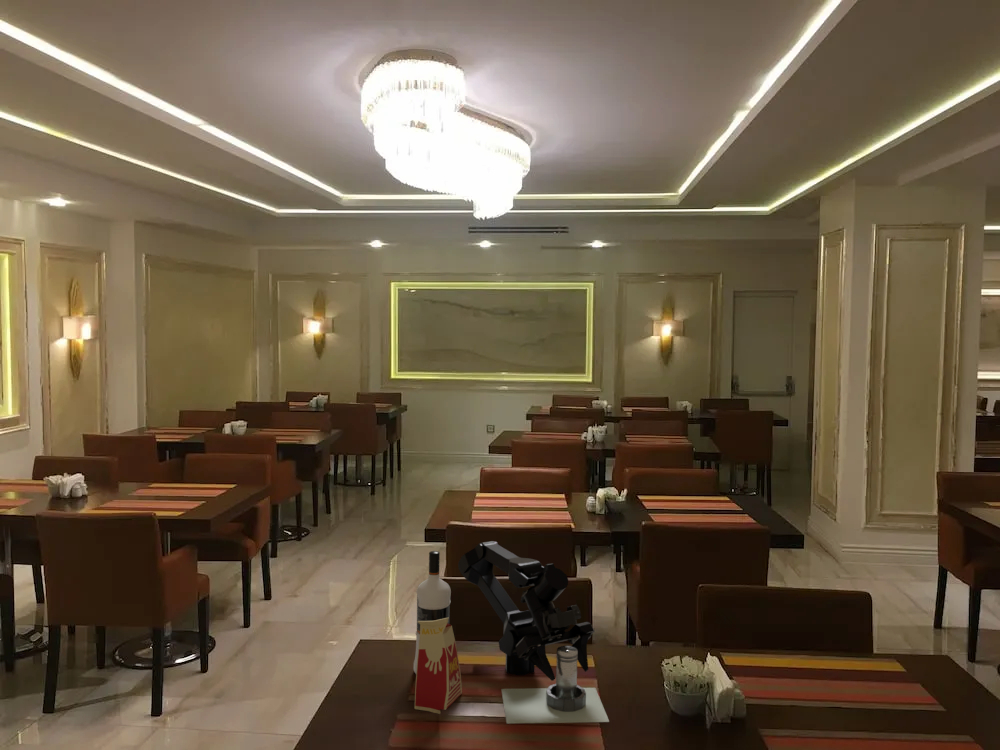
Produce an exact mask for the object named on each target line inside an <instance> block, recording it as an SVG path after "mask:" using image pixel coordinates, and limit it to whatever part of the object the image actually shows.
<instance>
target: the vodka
mask: <svg viewBox="0 0 1000 750" xmlns="http://www.w3.org/2000/svg"><path fill="white" fill-rule="evenodd" d="M440 555H441V553H440V551H439V550H438V551H437V550H432V551H429V553H428V578H426V579H425V580H423V581H421V583H419V584H418V586H417V587H416V591H415V593H416V631H415V636H416V637H415V638H416V639H415V640H416V643H415V654H414V660H413V664H412V665H413V671H414V673H415V674H416V672H417V659H418V649H419V640H420V624H419V623H418V622H417V621H434V620H439V619H444V618H448V617H449V619H448V624H450V613H451V612H450V607H451V606H450V605H451V593H452V591H451V586H450V585H449V583H447V582H446V581H444V580H443V579H441V578H440V560H441V559H440Z"/></svg>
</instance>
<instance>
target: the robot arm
mask: <svg viewBox="0 0 1000 750" xmlns="http://www.w3.org/2000/svg"><path fill="white" fill-rule="evenodd" d="M457 566H458V567H457V568H458V571H459V573H461V575H462V576H463V578H464V579H466V581H467V582H469V583H471V584H473V585H475V586H477V587H478V588H479V589H480V591H481V592H482V594H483V595H484V597H485V598H486V600H487V601H488V603H489V604H490V605H491V607H492V609H493V610H494V612H495V613H496V614H497V616H498V618H499V619H500V621H501V622H502V624H503V635H502V637H500V639H499V640H498V647H499V650H500V652H502V653H504V654H505V671H506V674H511V675H515V676H525V675H528V674H533V673H535V670H536V669H535V667H536V668H537V669H538V670H540V671H541V672H542V673H543V675H545V676H546V677H547V678H548V679H549V680H550V681H555V680H556V675H555V674H554V670H553V668H552V665H551V663H550V661H549V659H548V656H547V653H546V646H549V645H550V646H551V645H553V644H559V643H562V642H566V641H568V643H570V644H571V646H572V647H575V648H576V649H577V650H578V659H577V663H579V665H580V667H581V668H582V669H583V671H584V672H585V673H586V672H588V671H589V661H588V649H587V648H588V641H589V640H590V638H592V635H593V634H594V633H595V631H596V630H595V629H594V626H593V624H592V623H590V622H589V621H584V622H580V623H578V622H577V621H578V620H580V619H581V618H582V613H581V610H580V608H579V606H578V604H574V605H570V606H567V607H566V611H562V610H561V609H560V608H559V607H555V605H554V602H553V601H556V600H557V598H558V597H559V596H560V595H561V594H562V593H563V592H564V590H565V589H566V588H568V585H569V578H568V575H567V574H566V573H565V572H564V571H562V569H560V568H558V567H556V566H555V564H554V563H547V564H545V565H544V566H543V564H542V563H541V562H540V561H539V560H537V559H533V558H530V557H529V558H528V557H527V558H526V557H520V556H518V555H516V554H515V553H513V552H511V551H509V550H508V549H506V548H504V547H502V546H501V545H499V544H498V542H497V541H494V540H491V541H489V540H488V541H484V542H480V543H478V544H477V545H476V546H475V547H474V548H472V549H471V550H469V551H467V552H466V553H464V554H462V555H461V557H460V559H459V560H458V563H457ZM494 566H495V567H496V568H498V569H500V570H501V571H503V572H504V573H506V574H507V575H508V577H507V578H508V581H510V583H512V585H513V586H515V588H517V589H522V588H527V587H529V588H528V589H527V590H523V591H522V595H521V597H520V603H521V604H524V603H525V604H526V606H527V608H528V609H527V610H524V611H520V610H519V608H518V607H517V605H516V603H514V601H513V599H512V598H511V597H510V596H509V593H507V591H506V589H505V588H504V587H503V585H502V584H501V583H500V581H499V580H498V579H497V577H496V576H495V574H494ZM570 625H574V626H572V628H571V629H569V628H570ZM568 629H569V630H568ZM566 630H567V631H566Z"/></svg>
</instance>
